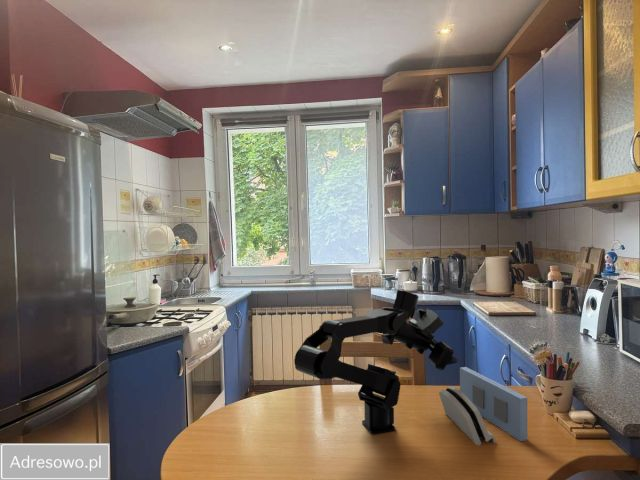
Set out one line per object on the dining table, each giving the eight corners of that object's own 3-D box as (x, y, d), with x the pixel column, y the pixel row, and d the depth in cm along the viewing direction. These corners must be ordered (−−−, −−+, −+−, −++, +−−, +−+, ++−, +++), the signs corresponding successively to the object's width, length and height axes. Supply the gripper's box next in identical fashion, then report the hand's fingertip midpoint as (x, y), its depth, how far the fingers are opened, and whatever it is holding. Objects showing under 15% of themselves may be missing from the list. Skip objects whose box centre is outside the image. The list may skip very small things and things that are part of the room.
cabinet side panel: (518, 441, 92) (518, 399, 91) (458, 402, 113) (458, 367, 112) (527, 439, 92) (527, 397, 92) (465, 401, 113) (465, 366, 113)
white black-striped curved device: (497, 443, 91) (483, 404, 90) (479, 452, 90) (464, 412, 90) (462, 411, 107) (450, 377, 107) (446, 418, 107) (434, 384, 106)
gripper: (441, 322, 97) (484, 344, 103) (404, 295, 114) (442, 314, 120) (418, 361, 98) (462, 380, 103) (385, 328, 115) (424, 346, 121)
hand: (447, 352), depth 112 cm, fingers open, 9 cm apart
